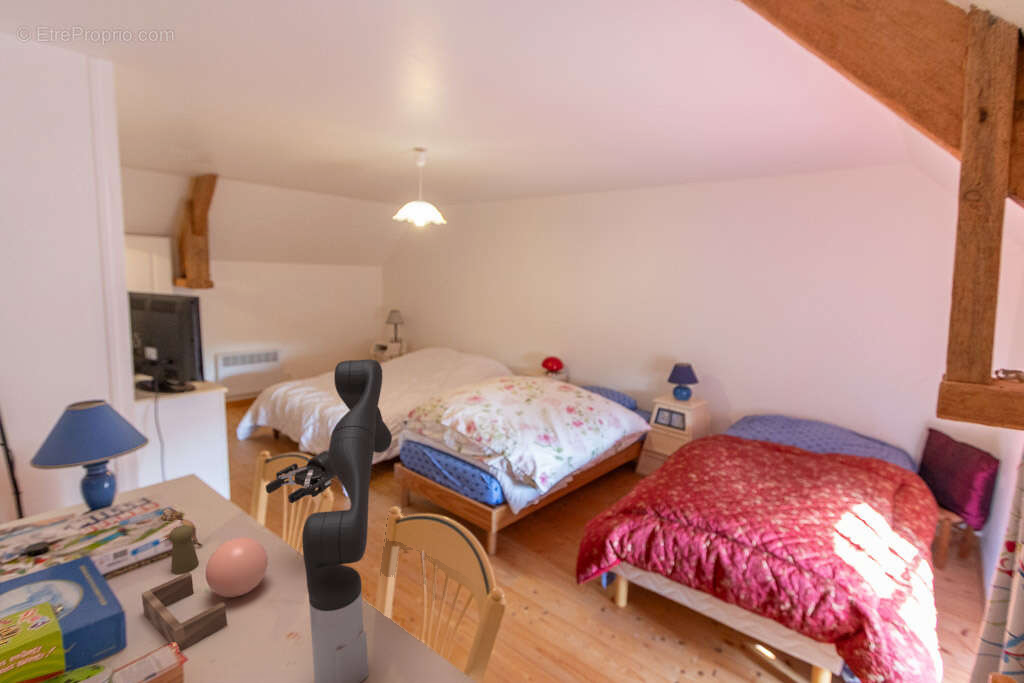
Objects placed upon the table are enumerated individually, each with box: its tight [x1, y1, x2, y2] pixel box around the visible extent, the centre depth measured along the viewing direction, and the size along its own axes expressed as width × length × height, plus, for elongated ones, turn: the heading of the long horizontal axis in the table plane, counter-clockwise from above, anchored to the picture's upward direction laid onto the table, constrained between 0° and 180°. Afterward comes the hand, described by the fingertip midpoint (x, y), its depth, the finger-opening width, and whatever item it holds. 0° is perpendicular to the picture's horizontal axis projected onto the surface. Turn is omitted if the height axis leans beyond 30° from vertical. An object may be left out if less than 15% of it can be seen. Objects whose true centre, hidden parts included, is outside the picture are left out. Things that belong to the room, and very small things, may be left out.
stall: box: [141, 572, 228, 652], centre depth 107 cm, size 19×10×5 cm, turn 54°
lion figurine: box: [156, 508, 203, 547], centre depth 137 cm, size 15×5×9 cm, turn 70°
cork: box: [168, 525, 200, 575], centre depth 125 cm, size 6×6×11 cm
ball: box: [205, 537, 269, 598], centre depth 116 cm, size 13×13×13 cm
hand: (278, 494), depth 118 cm, fingers open, 8 cm apart
